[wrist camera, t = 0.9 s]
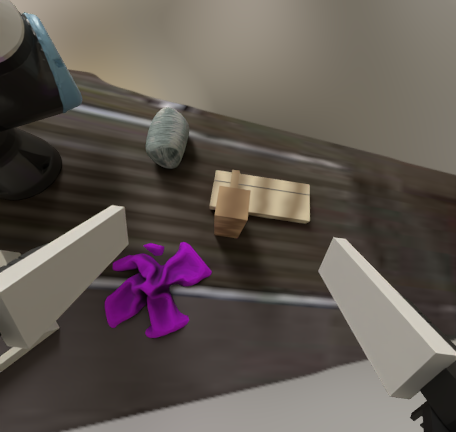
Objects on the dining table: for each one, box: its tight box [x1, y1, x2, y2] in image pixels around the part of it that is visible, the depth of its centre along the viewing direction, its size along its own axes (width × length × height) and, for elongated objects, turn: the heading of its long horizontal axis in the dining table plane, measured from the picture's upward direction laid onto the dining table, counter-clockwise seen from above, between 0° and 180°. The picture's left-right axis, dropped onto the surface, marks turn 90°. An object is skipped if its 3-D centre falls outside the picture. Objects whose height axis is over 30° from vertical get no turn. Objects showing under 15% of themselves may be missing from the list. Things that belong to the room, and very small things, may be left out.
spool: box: [146, 107, 189, 169], centre depth 43 cm, size 14×10×10 cm
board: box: [210, 170, 310, 224], centre depth 42 cm, size 22×9×2 cm, turn 82°
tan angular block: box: [215, 170, 251, 238], centre depth 36 cm, size 5×13×13 cm, turn 172°
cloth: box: [105, 242, 211, 338], centre depth 34 cm, size 22×19×6 cm
